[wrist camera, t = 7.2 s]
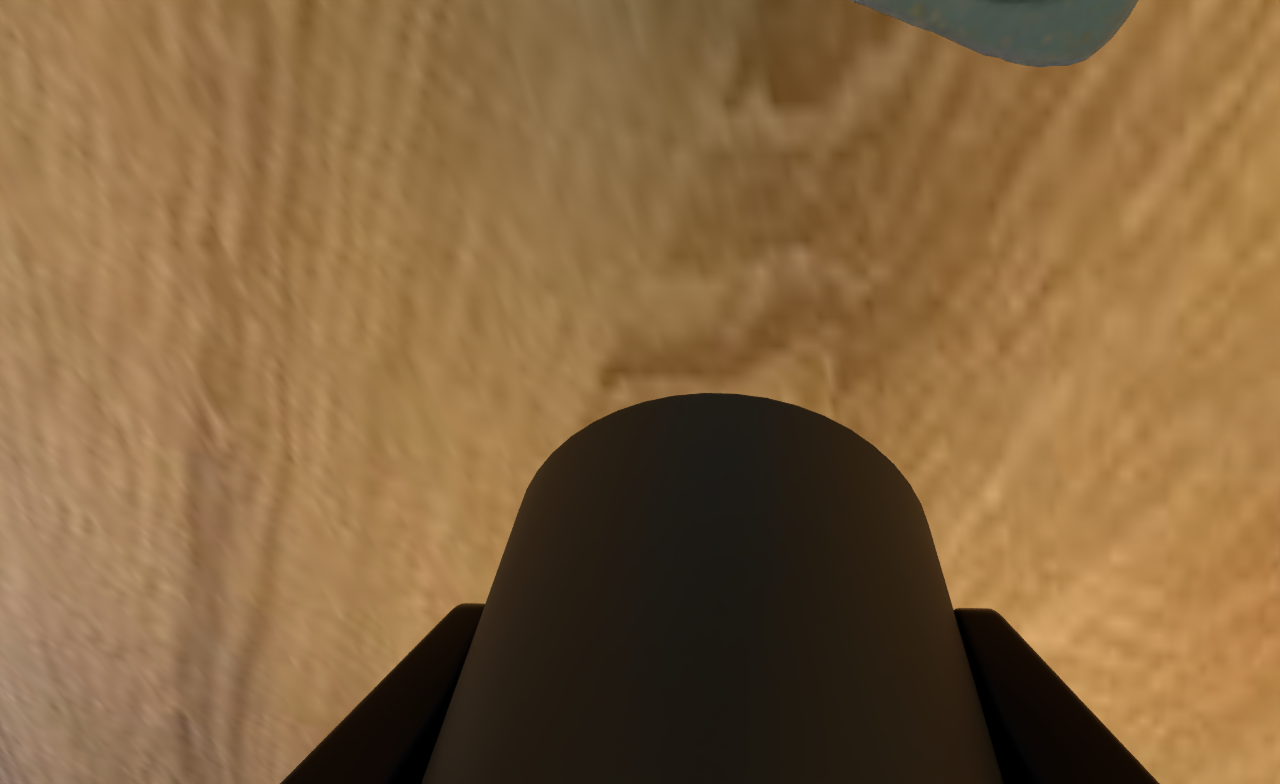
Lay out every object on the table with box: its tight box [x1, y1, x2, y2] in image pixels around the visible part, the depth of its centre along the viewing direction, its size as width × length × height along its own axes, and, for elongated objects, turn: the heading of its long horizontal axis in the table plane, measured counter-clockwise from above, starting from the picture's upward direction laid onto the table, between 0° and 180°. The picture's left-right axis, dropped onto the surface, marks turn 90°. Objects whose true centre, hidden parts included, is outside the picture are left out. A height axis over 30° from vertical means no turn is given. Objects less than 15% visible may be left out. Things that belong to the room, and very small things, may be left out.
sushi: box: [421, 393, 1004, 784], centre depth 7 cm, size 5×5×5 cm
